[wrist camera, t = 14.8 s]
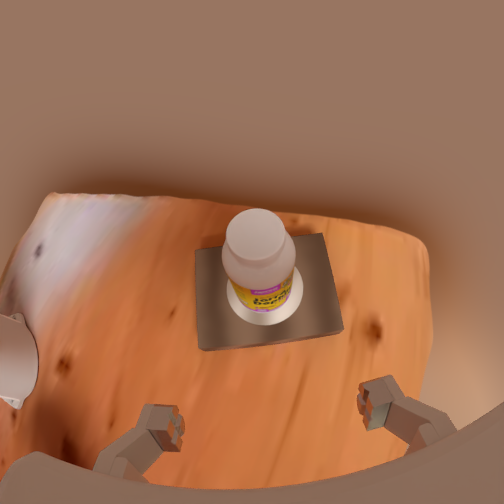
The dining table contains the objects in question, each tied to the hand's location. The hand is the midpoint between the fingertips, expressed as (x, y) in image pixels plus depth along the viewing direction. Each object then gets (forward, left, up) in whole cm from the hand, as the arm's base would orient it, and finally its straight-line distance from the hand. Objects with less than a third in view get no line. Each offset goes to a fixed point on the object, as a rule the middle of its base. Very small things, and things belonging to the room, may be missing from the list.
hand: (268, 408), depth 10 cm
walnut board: (0, +12, -22) cm, 25 cm away
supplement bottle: (0, +12, -19) cm, 23 cm away
